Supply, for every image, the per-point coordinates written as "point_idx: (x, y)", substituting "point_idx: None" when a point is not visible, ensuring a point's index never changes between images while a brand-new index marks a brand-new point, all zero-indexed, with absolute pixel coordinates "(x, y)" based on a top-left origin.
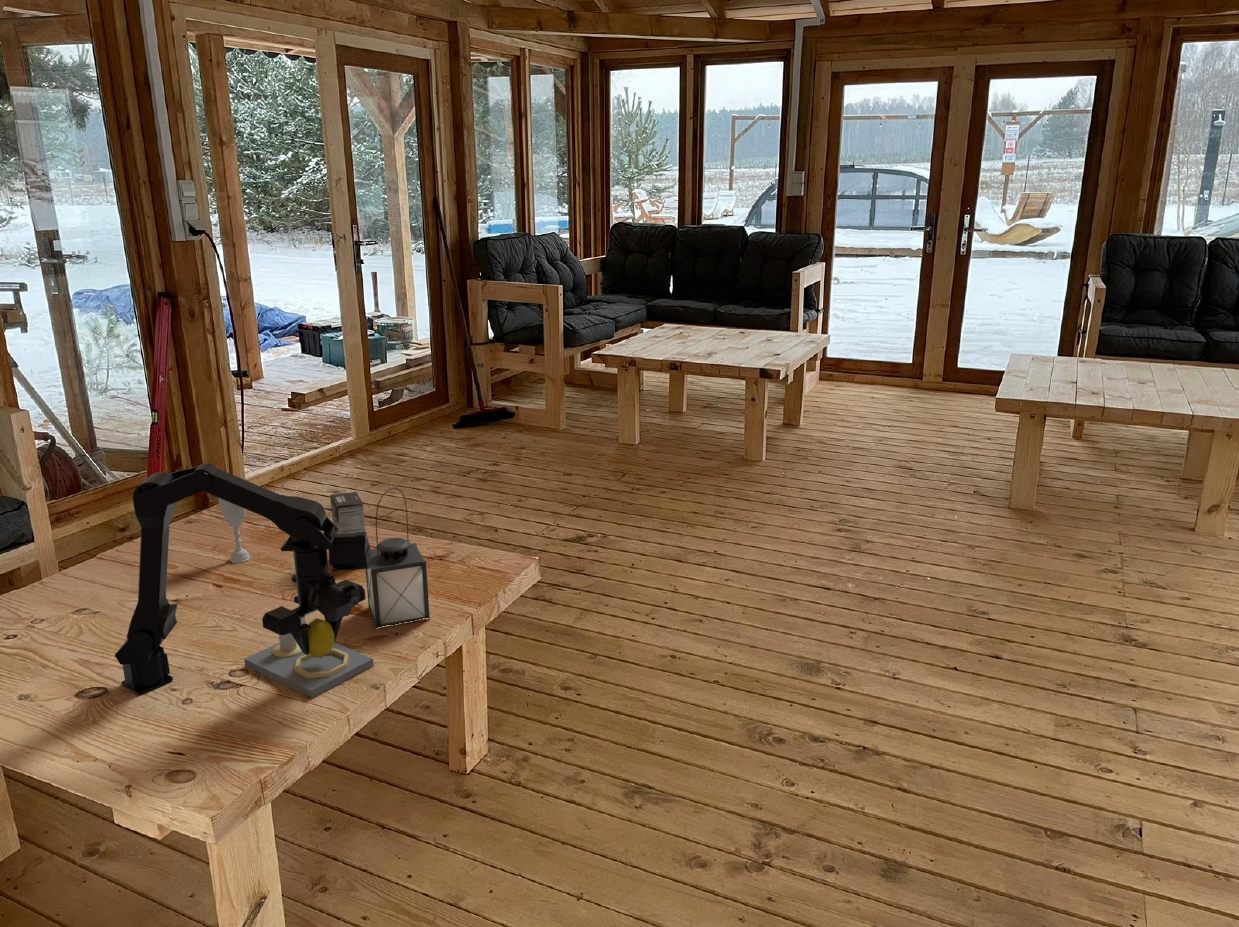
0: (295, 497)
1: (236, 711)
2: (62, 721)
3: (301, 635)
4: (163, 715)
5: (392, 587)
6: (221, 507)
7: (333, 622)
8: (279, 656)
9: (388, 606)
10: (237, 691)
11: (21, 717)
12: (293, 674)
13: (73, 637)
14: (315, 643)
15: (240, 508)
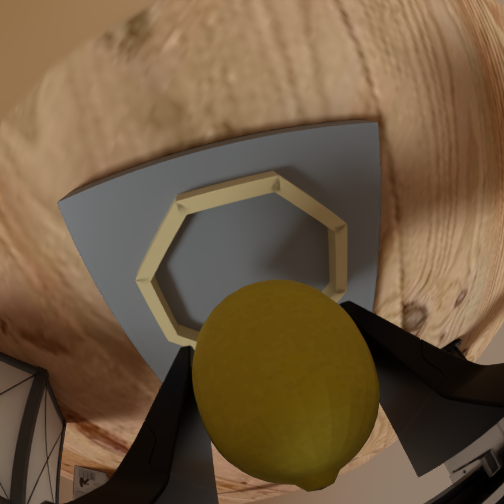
0: None
1: (466, 212)
2: (497, 316)
3: (465, 365)
4: (487, 276)
5: None
6: None
7: (185, 451)
8: None
9: (5, 403)
10: (423, 288)
11: (492, 336)
12: (351, 271)
13: (386, 436)
14: (351, 329)
15: None
